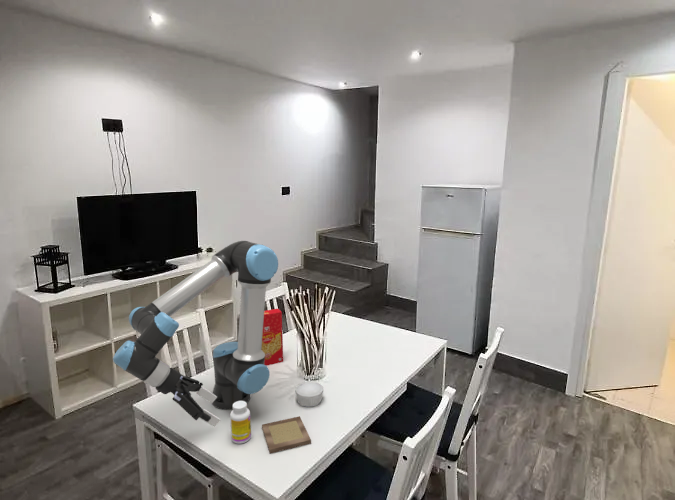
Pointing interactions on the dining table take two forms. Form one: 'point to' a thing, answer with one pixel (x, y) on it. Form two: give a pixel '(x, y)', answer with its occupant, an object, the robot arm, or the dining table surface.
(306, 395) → the ramekin
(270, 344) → the food packaging
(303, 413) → the dining table surface
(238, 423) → the supplement bottle
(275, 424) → the walnut plinth
